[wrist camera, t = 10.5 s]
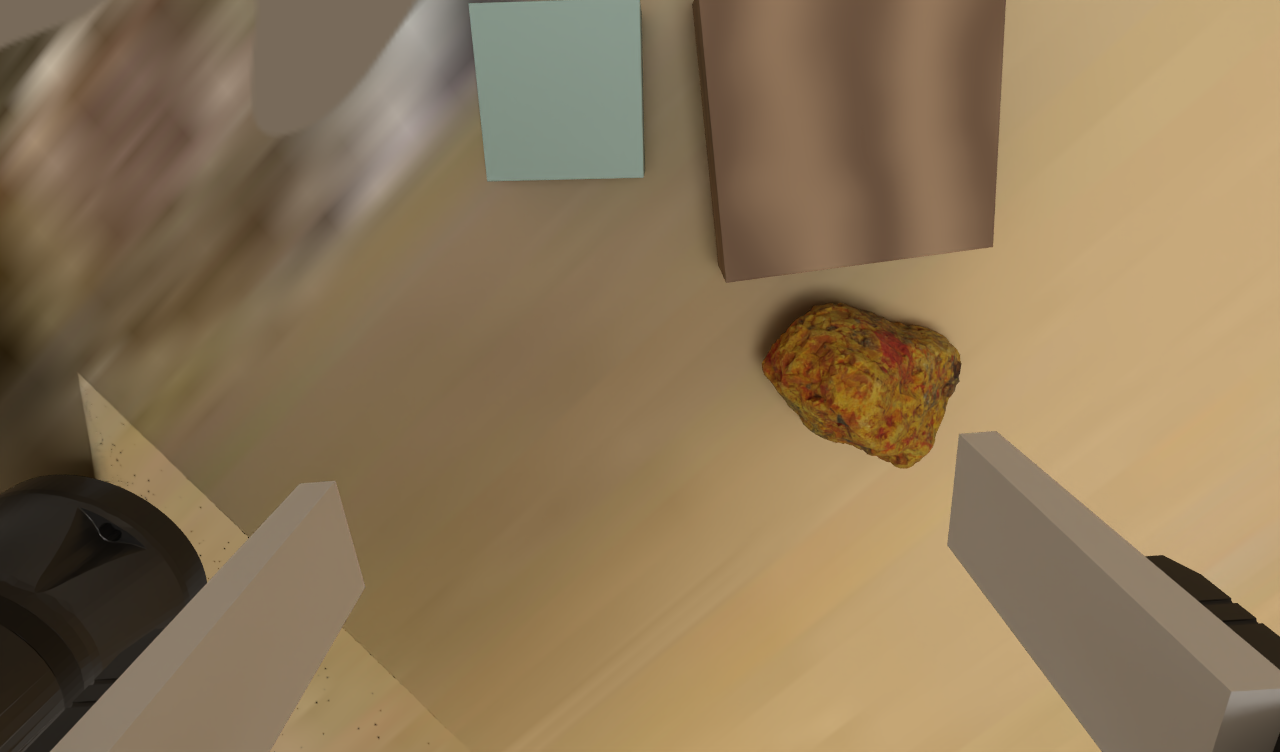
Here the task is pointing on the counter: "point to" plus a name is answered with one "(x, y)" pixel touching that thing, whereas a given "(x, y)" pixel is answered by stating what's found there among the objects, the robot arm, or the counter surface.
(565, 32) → the teal block
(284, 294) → the counter surface
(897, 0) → the walnut block
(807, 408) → the rock
